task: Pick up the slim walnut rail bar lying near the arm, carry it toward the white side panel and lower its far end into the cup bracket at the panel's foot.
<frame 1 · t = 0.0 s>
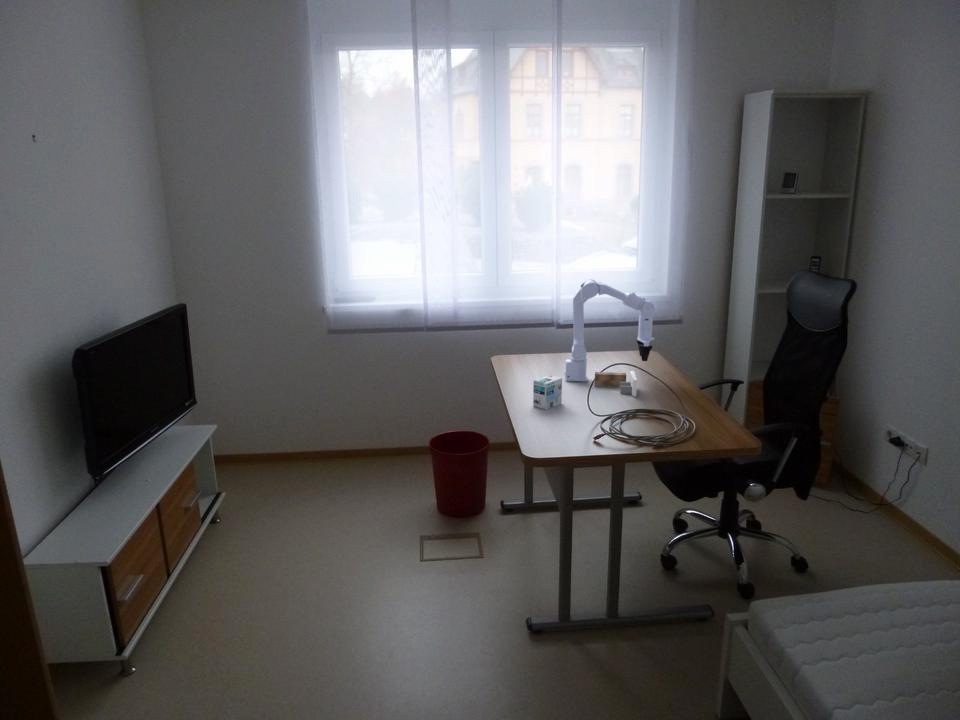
hand: (643, 358, 301), 10 cm above the table, fingers open, 7 cm apart
bracket: (626, 391, 289), on the table
rail: (610, 385, 298), on the table
light bulb box: (547, 405, 274), on the table
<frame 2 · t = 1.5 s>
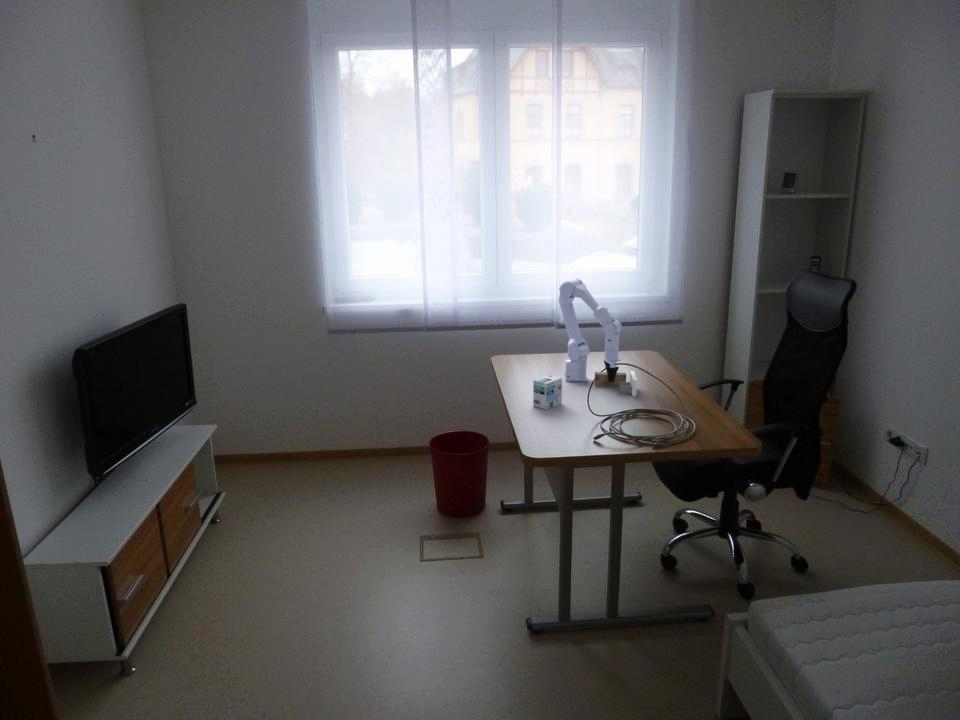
hand: (610, 379, 297), 3 cm above the table, fingers open, 7 cm apart
nothing on the table moved.
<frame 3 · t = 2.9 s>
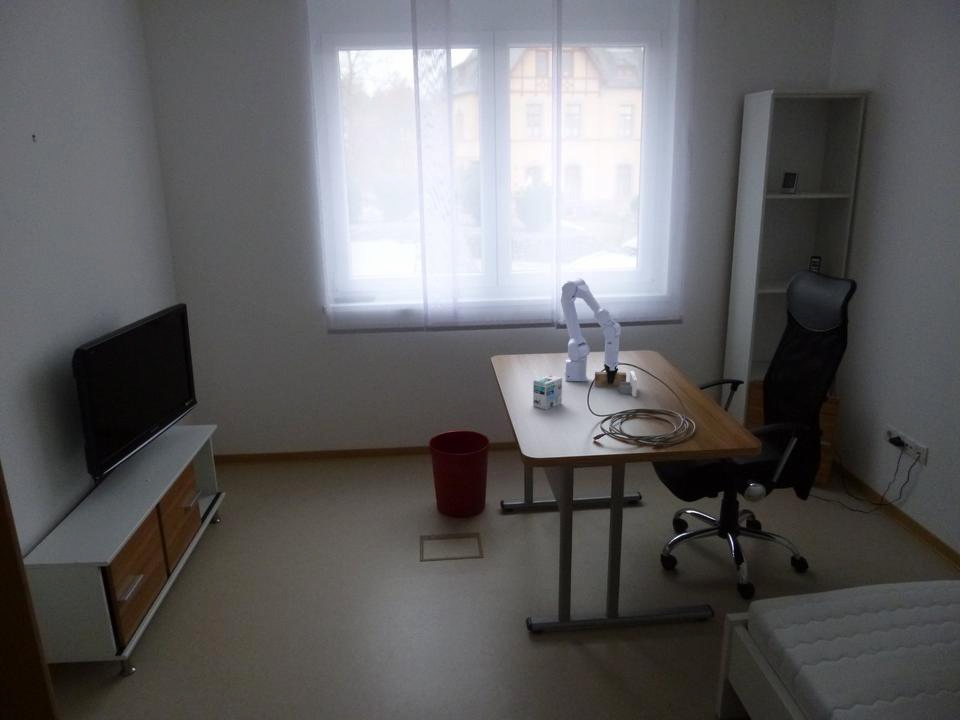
hand: (610, 382, 297), 1 cm above the table, fingers closed on rail, 3 cm apart
rail: (610, 385, 298), on the table, touching gripper
everything else where it was.
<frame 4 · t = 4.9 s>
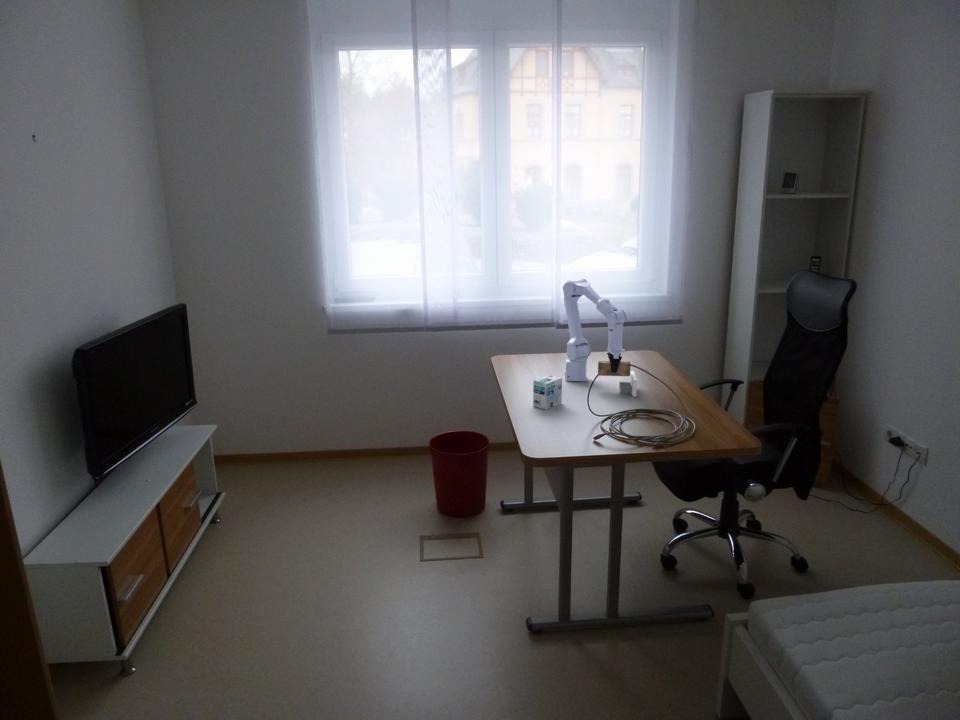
hand: (613, 370, 289), 8 cm above the table, fingers closed on rail, 3 cm apart
rail: (613, 374, 289), point 7 cm above the table, touching gripper
everything else where it was.
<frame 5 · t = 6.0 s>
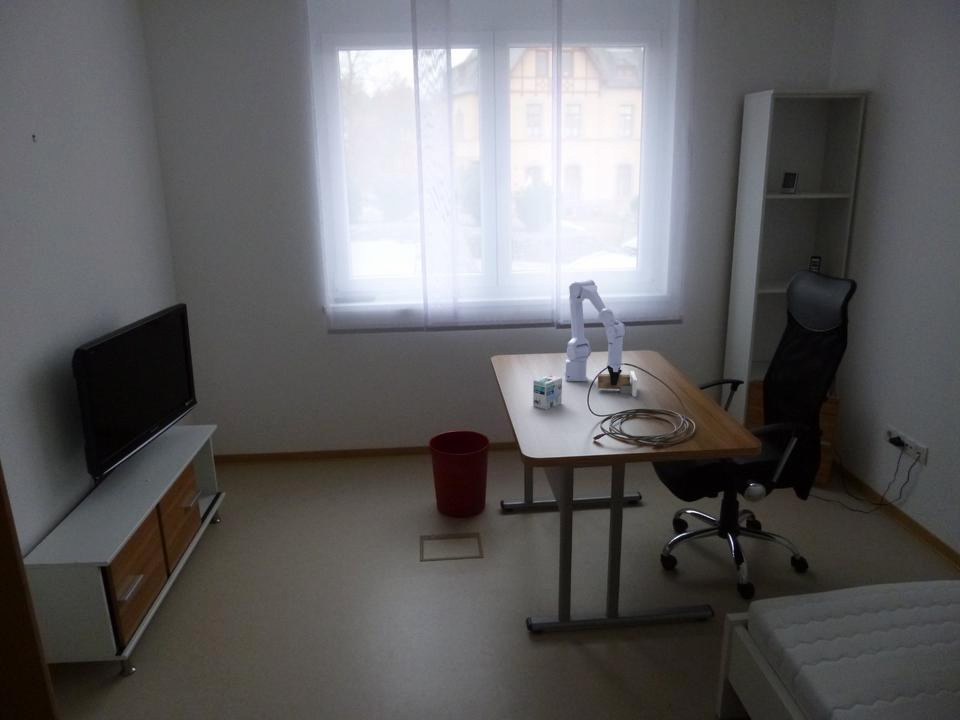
hand: (613, 383, 289), 3 cm above the table, fingers closed on rail, 3 cm apart
rail: (613, 387, 289), point 1 cm above the table, touching gripper
everything else where it was.
when the fingers open (3 cm above the table, at t = 6.8 s): rail stays where it is, resting on bracket.
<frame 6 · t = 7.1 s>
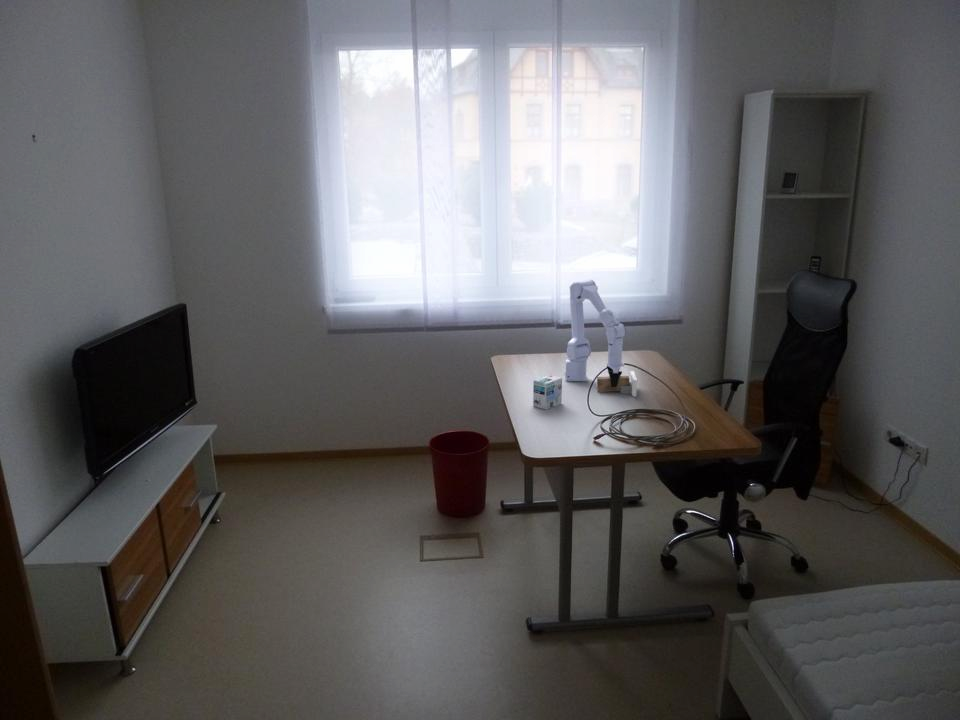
hand: (613, 384, 289), 3 cm above the table, fingers open, 5 cm apart
rail: (613, 390, 290), resting on bracket
everything else where it was.
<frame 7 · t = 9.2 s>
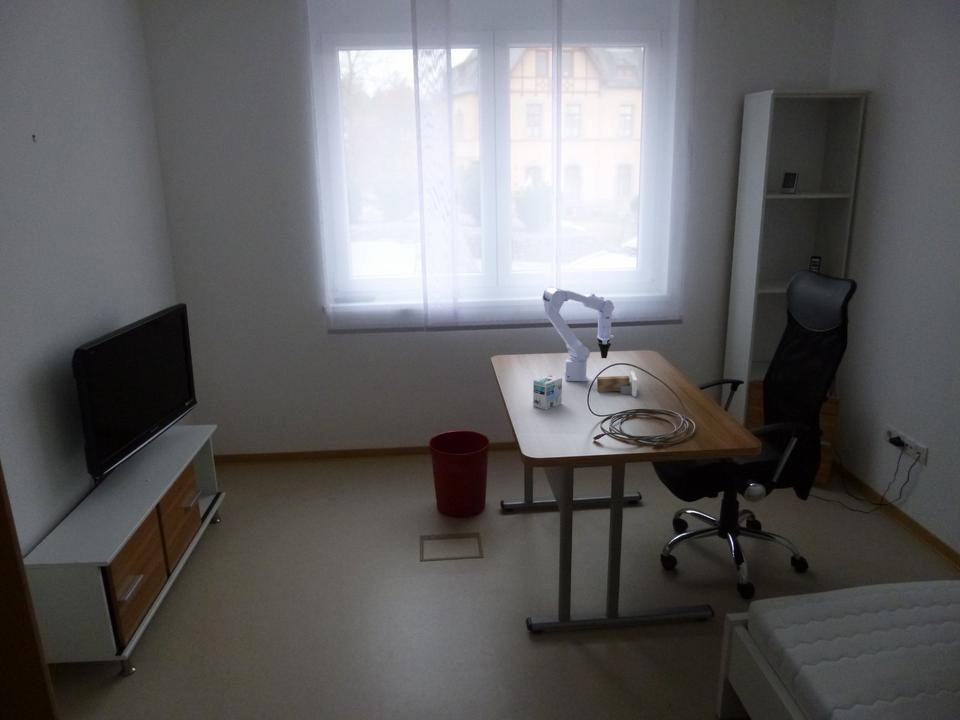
hand: (603, 355, 308), 9 cm above the table, fingers open, 7 cm apart
nothing on the table moved.
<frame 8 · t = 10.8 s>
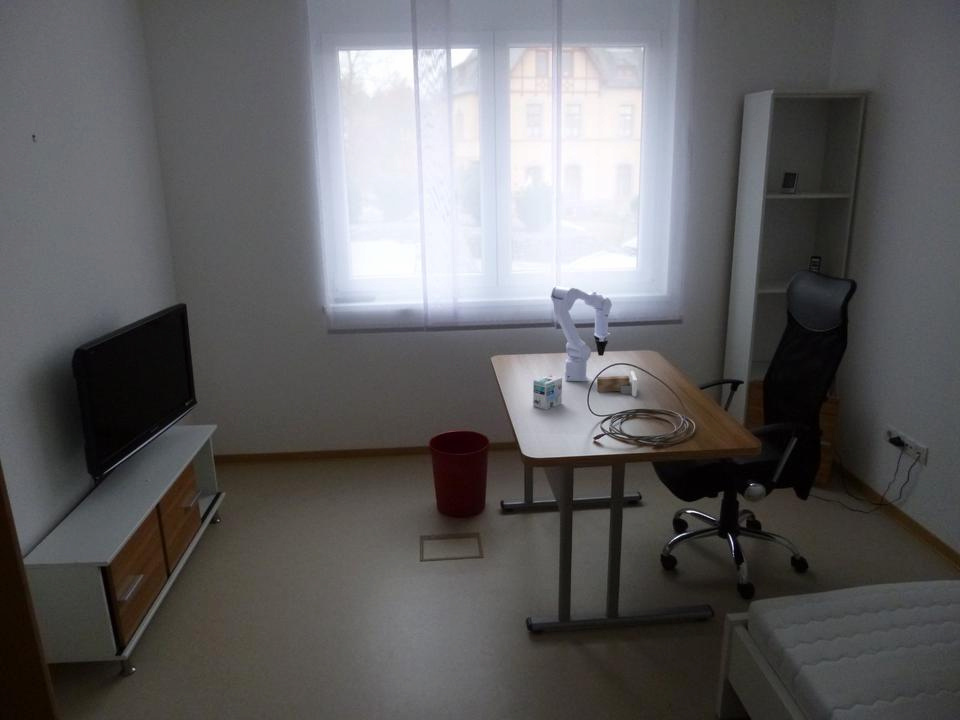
hand: (600, 353, 313), 9 cm above the table, fingers open, 7 cm apart
nothing on the table moved.
at the end: rail 1.0 cm from the target spot on the table beside the bracket, on the table; rail tilted 4°; the gripper is holding nothing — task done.
